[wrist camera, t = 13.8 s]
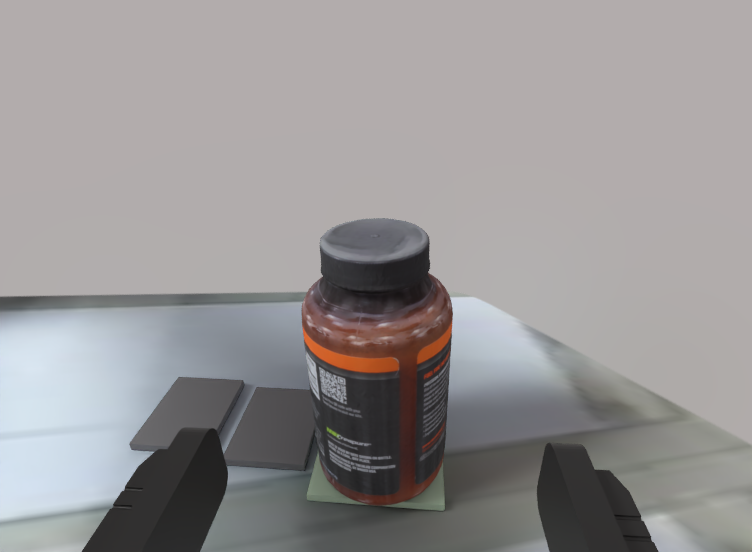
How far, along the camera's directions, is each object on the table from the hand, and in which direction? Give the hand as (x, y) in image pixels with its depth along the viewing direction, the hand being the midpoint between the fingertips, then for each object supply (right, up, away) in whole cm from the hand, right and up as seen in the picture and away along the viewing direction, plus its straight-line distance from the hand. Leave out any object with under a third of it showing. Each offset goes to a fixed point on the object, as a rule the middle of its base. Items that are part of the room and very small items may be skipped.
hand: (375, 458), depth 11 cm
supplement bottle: (0, -4, +10) cm, 11 cm away
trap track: (-4, -4, +12) cm, 13 cm away
